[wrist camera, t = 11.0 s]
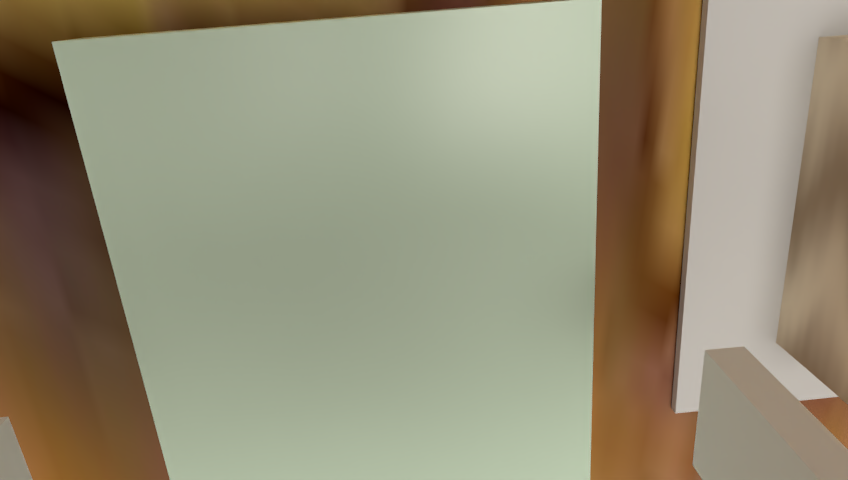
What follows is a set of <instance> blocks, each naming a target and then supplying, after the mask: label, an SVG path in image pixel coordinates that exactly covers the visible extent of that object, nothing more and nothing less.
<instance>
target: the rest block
mask: <svg viewBox="0 0 848 480" xmlns="http://www.w3.org/2000/svg"><path fill="white" fill-rule="evenodd" d="M776 343H777V344H778V345H779V346H781V347H782V348H783V349H784V350H785V351H786V352H788V353H789V354H790V355H791V356H792V357H793V358H794V359H796V360H797V361H798V362H799V363H800V364H801V365H803V366H804V367H805V368H806V369H807V370H808V371H810V372H811V373H812V374H813V375H814V376H815V377H816V378H818V379H819V380H820V381H821V382H822V383H823V384H825V385H826V386H827V387H828V388H829V389H830V390H832V391H833V392H834V393H835V394H836V395H837V396H839V397H840V398H841V399H842V400H843V401H844V402H845V403H847V404H848V35H838V36H826V37H819V40H818V47H817V54H816V62H815V69H814V76H813V83H812V90H811V97H810V104H809V111H808V118H807V125H806V133H805V140H804V147H803V154H802V161H801V168H800V175H799V182H798V189H797V196H796V203H795V211H794V218H793V225H792V232H791V239H790V246H789V253H788V260H787V267H786V274H785V282H784V289H783V296H782V303H781V310H780V317H779V324H778V331H777V338H776Z"/></svg>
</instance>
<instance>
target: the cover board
mask: <svg viewBox="0 0 848 480" xmlns="http://www.w3.org/2000/svg"><path fill="white" fill-rule="evenodd" d="M601 6H602V0H552V1H540V2H527V3H515V4H502V5H490V6H477V7H465V8H452V9H440V10H427V11H415V12H402V13H389V14H377V15H364V16H352V17H339V18H327V19H314V20H302V21H289V22H277V23H264V24H251V25H239V26H226V27H214V28H201V29H189V30H176V31H164V32H151V33H139V34H126V35H114V36H101V37H88V38H79V39H71V40H63V41H54V42H52V45H53V49H54V53H55V56H56V60H57V64H58V68H59V71H60V75H61V79H62V82H63V86H64V90H65V93H66V97H67V101H68V104H69V108H70V112H71V116H72V119H73V123H74V127H75V130H76V134H77V138H78V141H79V145H80V149H81V153H82V156H83V160H84V164H85V167H86V171H87V175H88V178H89V182H90V186H91V190H92V193H93V197H94V201H95V204H96V208H97V212H98V215H99V219H100V223H101V227H102V230H103V234H104V238H105V241H106V245H107V249H108V252H109V256H110V260H111V263H112V267H113V271H114V275H115V278H116V282H117V286H118V289H119V293H120V297H121V300H122V304H123V308H124V312H125V315H126V319H127V323H128V326H129V330H130V334H131V337H132V341H133V345H134V349H135V352H136V356H137V360H138V363H139V367H140V371H141V374H142V378H143V382H144V386H145V389H146V393H147V397H148V400H149V404H150V408H151V411H152V415H153V419H154V422H155V426H156V430H157V434H158V437H159V441H160V445H161V448H162V452H163V456H164V459H165V463H166V467H167V471H168V474H169V478H170V480H590V462H591V421H592V379H593V338H594V297H595V255H596V214H597V172H598V131H599V89H600V48H601Z"/></svg>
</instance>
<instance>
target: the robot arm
mask: <svg viewBox="0 0 848 480" xmlns="http://www.w3.org/2000/svg"><path fill="white" fill-rule="evenodd" d="M693 466H694V468H695V469H696V471H697V472H698V474H699V475H700V477H701V478H702V480H848V449H847V448H846V447H845V446H844V445H843V444H842V443H841V442H840V441H839V440H838V439H837V438H836V437H835V436H834V435H833V434H832V433H831V432H830V431H829V430H828V429H827V428H826V427H825V426H824V425H823V424H822V423H821V422H820V421H819V420H818V419H817V418H816V417H815V416H814V415H813V414H812V413H811V412H810V411H809V410H808V409H807V408H806V407H805V406H804V405H803V404H802V403H801V402H800V401H799V400H798V399H797V398H796V397H795V396H794V395H793V394H792V393H791V392H790V391H789V390H788V389H787V388H786V387H785V386H784V385H783V384H781V383H780V382H779V381H778V380H777V379H776V378H775V377H774V376H773V375H772V374H771V373H770V372H769V371H768V370H767V369H766V368H765V367H764V366H763V365H762V364H761V363H760V362H759V361H758V360H757V359H756V358H755V357H754V356H753V355H752V354H751V353H750V352H749V351H748V350H747V349H746V348H745V347H744V346H743V347H732V348H722V349H711V350H705V354H704V363H703V372H702V381H701V391H700V400H699V409H698V419H697V428H696V437H695V446H694V456H693ZM0 480H32V477H31V474H30V472H29V469H28V467H27V464H26V461H25V459H24V456H23V454H22V451H21V448H20V446H19V443H18V441H17V438H16V436H15V433H14V430H13V428H12V425H11V423H10V420H9V417H0Z"/></svg>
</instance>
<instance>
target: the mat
mask: <svg viewBox="0 0 848 480" xmlns="http://www.w3.org/2000/svg"><path fill="white" fill-rule="evenodd" d="M838 35H848V0H703V5H702V18H701V31H700V44H699V57H698V70H697V83H696V96H695V109H694V121H693V134H692V147H691V160H690V173H689V186H688V199H687V212H686V225H685V238H684V251H683V264H682V277H681V290H680V303H679V316H678V329H677V342H676V355H675V367H674V380H673V393H672V406H671V408H672V409H673V411H674V412H675V413H683V412H693V411H698V409H699V400H700V391H701V381H702V372H703V363H704V354H705V350H711V349H722V348H732V347H743V346H744V347H745V348H746V349H747V350H748V351H749V352H750V353H751V354H752V355H753V356H754V357H755V358H756V359H757V360H758V361H759V362H760V363H761V364H762V365H763V366H764V367H765V368H766V369H767V370H768V371H769V372H770V373H771V374H772V375H773V376H774V377H775V378H776V379H777V380H778V381H779V382H780V383H781V384H783V385H784V386H785V387H786V388H787V389H788V390H789V391H790V392H791V393H792V394H793V395H794V396H795V397H796V398H797V399H798V400H799V401H800V400H810V399H819V398H829V397H839V396H837V395H836V394H835V393H834V392H833V391H832V390H830V389H829V388H828V387H827V386H826V385H825V384H823V383H822V382H821V381H820V380H819V379H818V378H816V377H815V376H814V375H813V374H812V373H811V372H810V371H808V370H807V369H806V368H805V367H804V366H803V365H801V364H800V363H799V362H798V361H797V360H796V359H794V358H793V357H792V356H791V355H790V354H789V353H788V352H786V351H785V350H784V349H783V348H782V347H781V346H779V345H778V344H777V343H776V338H777V331H778V324H779V317H780V310H781V303H782V296H783V289H784V282H785V274H786V267H787V260H788V253H789V246H790V239H791V232H792V225H793V218H794V211H795V203H796V196H797V189H798V182H799V175H800V168H801V161H802V154H803V147H804V140H805V133H806V125H807V118H808V111H809V104H810V97H811V90H812V83H813V76H814V69H815V62H816V54H817V47H818V40H819V37H826V36H838Z"/></svg>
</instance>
